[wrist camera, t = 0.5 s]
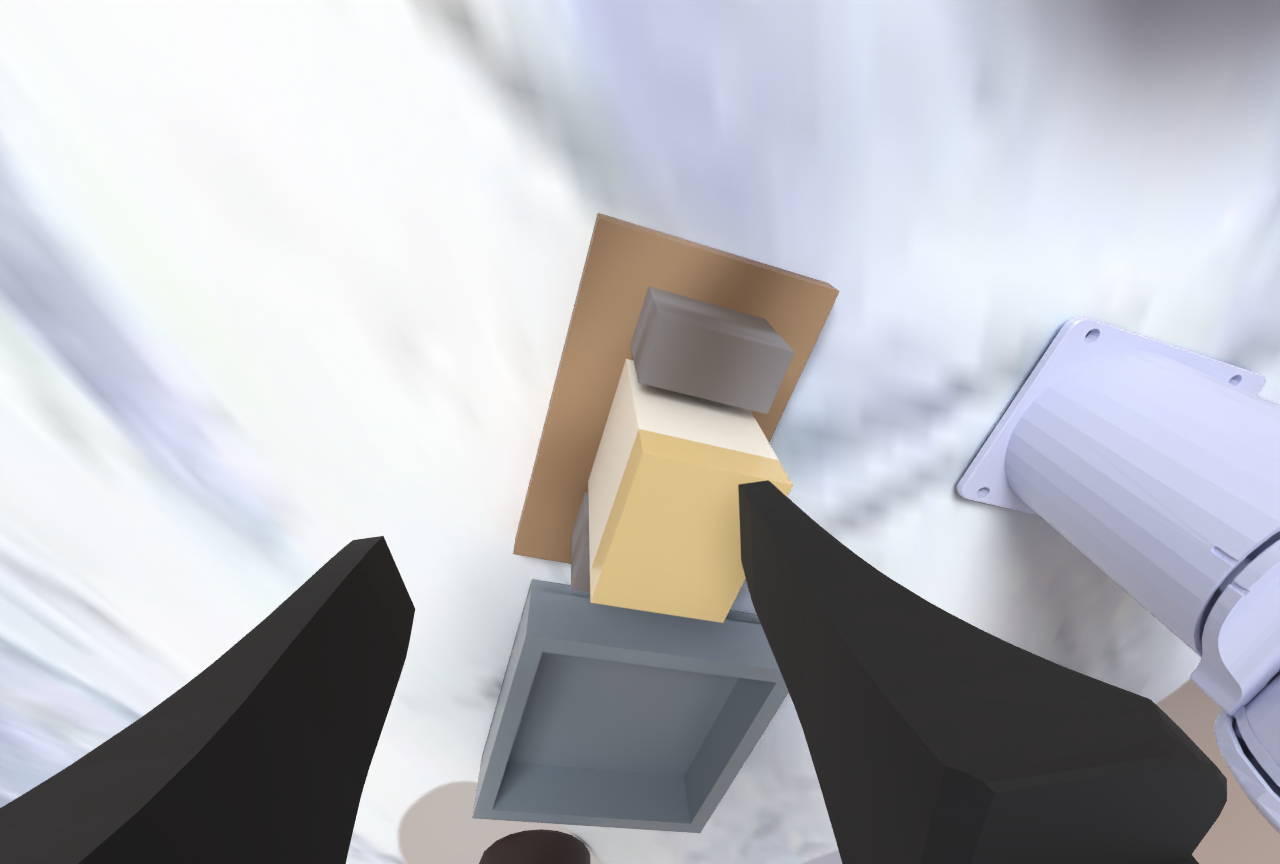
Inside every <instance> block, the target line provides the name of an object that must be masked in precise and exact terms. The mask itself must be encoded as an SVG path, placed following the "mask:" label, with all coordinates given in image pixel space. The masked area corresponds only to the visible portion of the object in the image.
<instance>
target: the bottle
mask: <svg viewBox="0 0 1280 864" xmlns="http://www.w3.org/2000/svg"><path fill="white" fill-rule="evenodd" d="M479 864H590V853H589V851H588V849H587V848H586V846H585V845H584V843H582V842H581V841H580V840H578V839H577V838H575V837H573V836H572V835H569V834H566V833H562V832H559V831H552V830H529V831H522V832H518V833H514V834H510V835H508V836H506V837H504V838H501V839H499V840H497V841H496V842H495V843H494V844H492V845H491V846H490V847H489V848H488V849H487V850H486V851H484V854H483V856H482V858H481V860H480V863H479Z"/></svg>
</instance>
